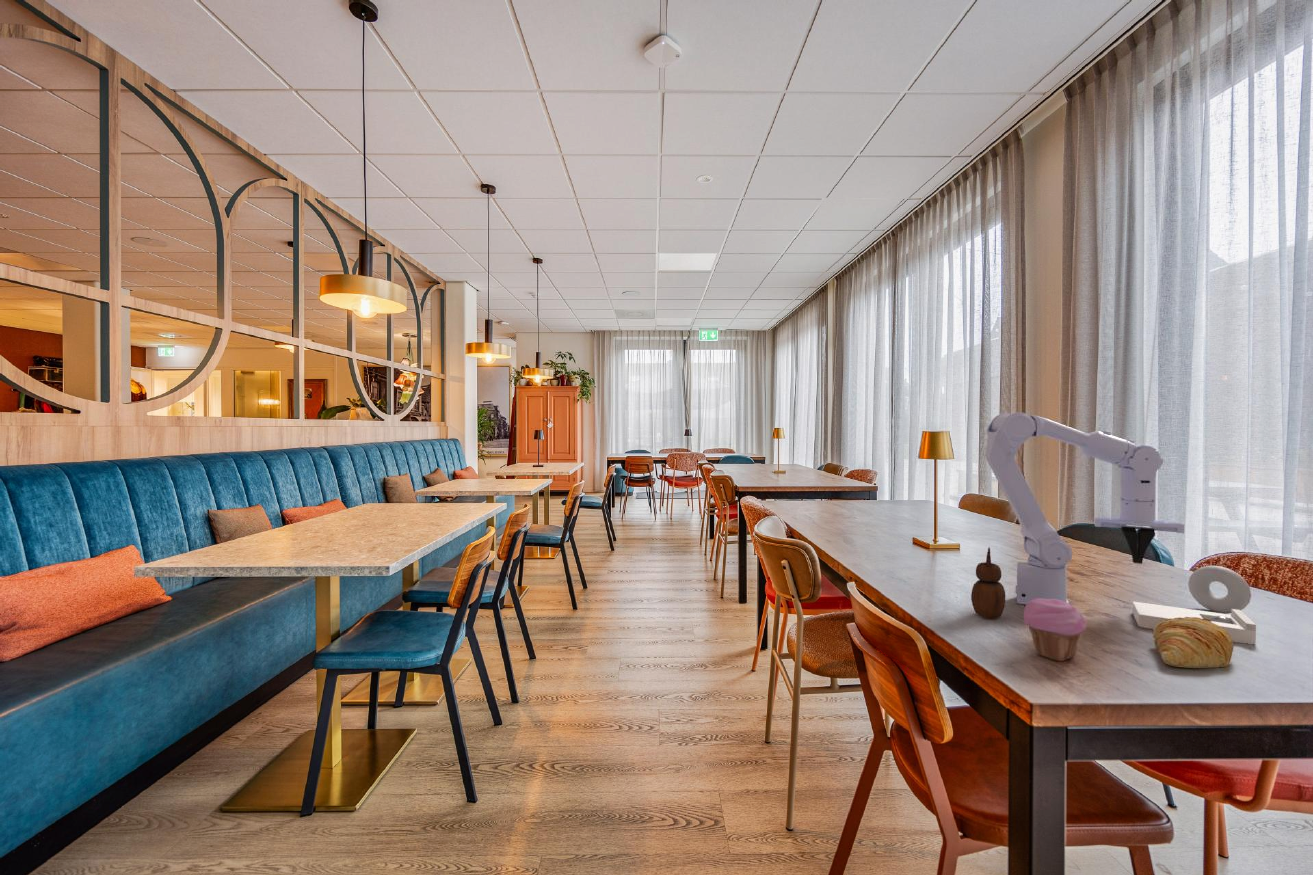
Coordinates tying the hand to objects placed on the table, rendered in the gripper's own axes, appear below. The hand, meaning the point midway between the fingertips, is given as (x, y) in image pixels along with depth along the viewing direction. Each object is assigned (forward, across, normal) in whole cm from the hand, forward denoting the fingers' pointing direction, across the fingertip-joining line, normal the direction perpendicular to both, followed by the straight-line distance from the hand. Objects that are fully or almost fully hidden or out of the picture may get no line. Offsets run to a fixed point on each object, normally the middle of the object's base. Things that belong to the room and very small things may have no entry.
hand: (1137, 562), depth 118 cm
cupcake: (+11, -15, -40) cm, 44 cm away
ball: (+9, +12, -8) cm, 17 cm away
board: (+10, +7, -8) cm, 15 cm away
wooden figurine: (+11, -26, -23) cm, 36 cm away
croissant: (+11, +4, -26) cm, 29 cm away
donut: (+11, +14, +8) cm, 19 cm away
